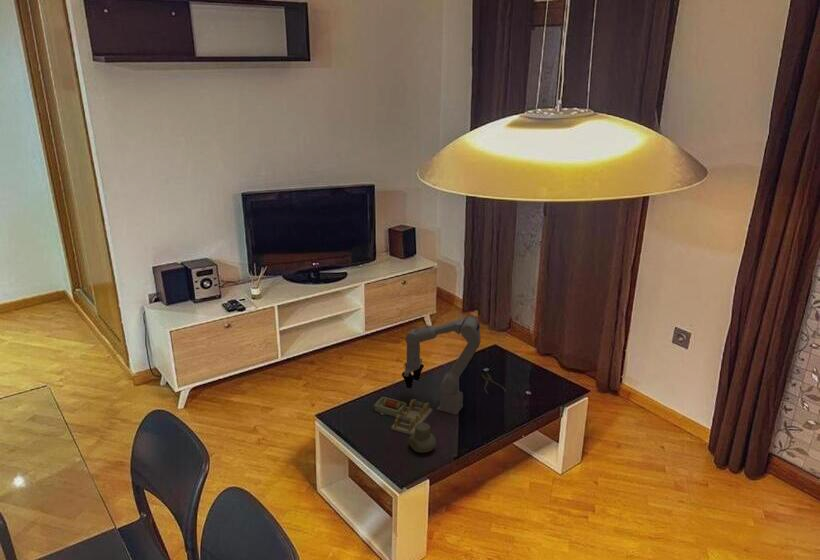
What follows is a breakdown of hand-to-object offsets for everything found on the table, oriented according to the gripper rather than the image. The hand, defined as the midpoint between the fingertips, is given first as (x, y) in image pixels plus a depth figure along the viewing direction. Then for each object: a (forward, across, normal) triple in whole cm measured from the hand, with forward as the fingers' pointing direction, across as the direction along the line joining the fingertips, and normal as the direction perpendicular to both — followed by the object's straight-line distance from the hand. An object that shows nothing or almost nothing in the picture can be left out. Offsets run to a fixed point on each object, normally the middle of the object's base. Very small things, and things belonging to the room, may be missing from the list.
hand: (412, 383), depth 272 cm
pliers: (+10, -31, +25) cm, 41 cm away
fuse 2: (+7, +6, +6) cm, 11 cm away
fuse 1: (+7, +20, +6) cm, 22 cm away
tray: (+9, +10, -6) cm, 15 cm away
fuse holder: (+9, +13, +6) cm, 17 cm away
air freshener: (+10, +29, +18) cm, 35 cm away
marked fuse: (+8, +10, -6) cm, 14 cm away
